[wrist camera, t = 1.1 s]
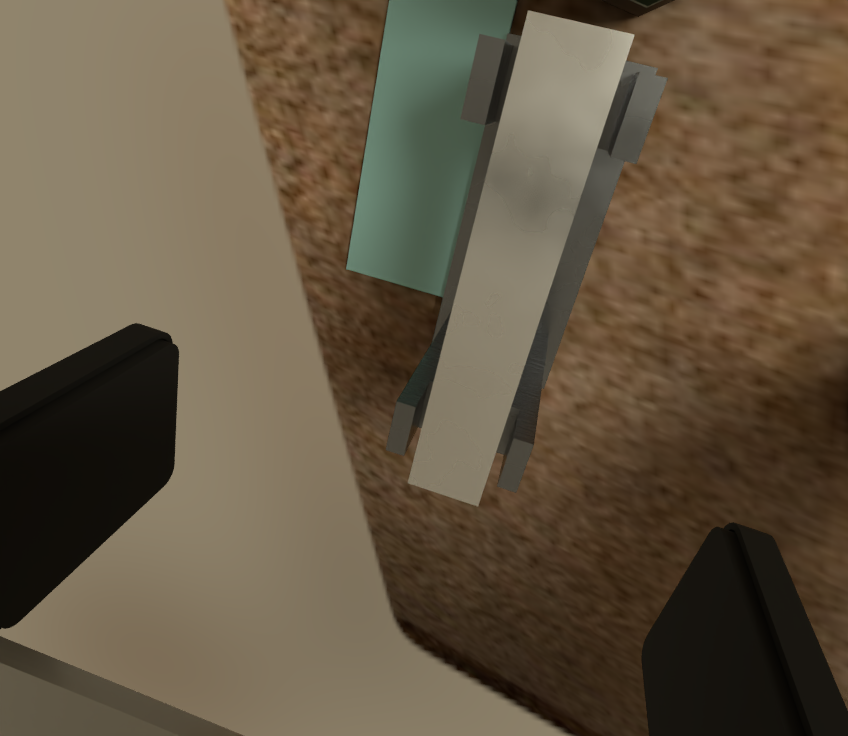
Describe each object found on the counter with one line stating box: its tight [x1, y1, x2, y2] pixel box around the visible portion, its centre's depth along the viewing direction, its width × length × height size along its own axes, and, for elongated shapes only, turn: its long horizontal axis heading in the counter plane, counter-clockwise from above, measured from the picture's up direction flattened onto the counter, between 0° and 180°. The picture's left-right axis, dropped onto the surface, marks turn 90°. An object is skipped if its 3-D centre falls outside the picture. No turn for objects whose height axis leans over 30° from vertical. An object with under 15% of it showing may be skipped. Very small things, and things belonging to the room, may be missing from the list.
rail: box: [408, 10, 634, 506], centre depth 22 cm, size 3×17×3 cm, turn 167°
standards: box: [386, 33, 668, 493], centre depth 26 cm, size 7×17×12 cm, turn 168°
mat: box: [346, 0, 518, 297], centre depth 31 cm, size 6×18×1 cm, turn 168°
